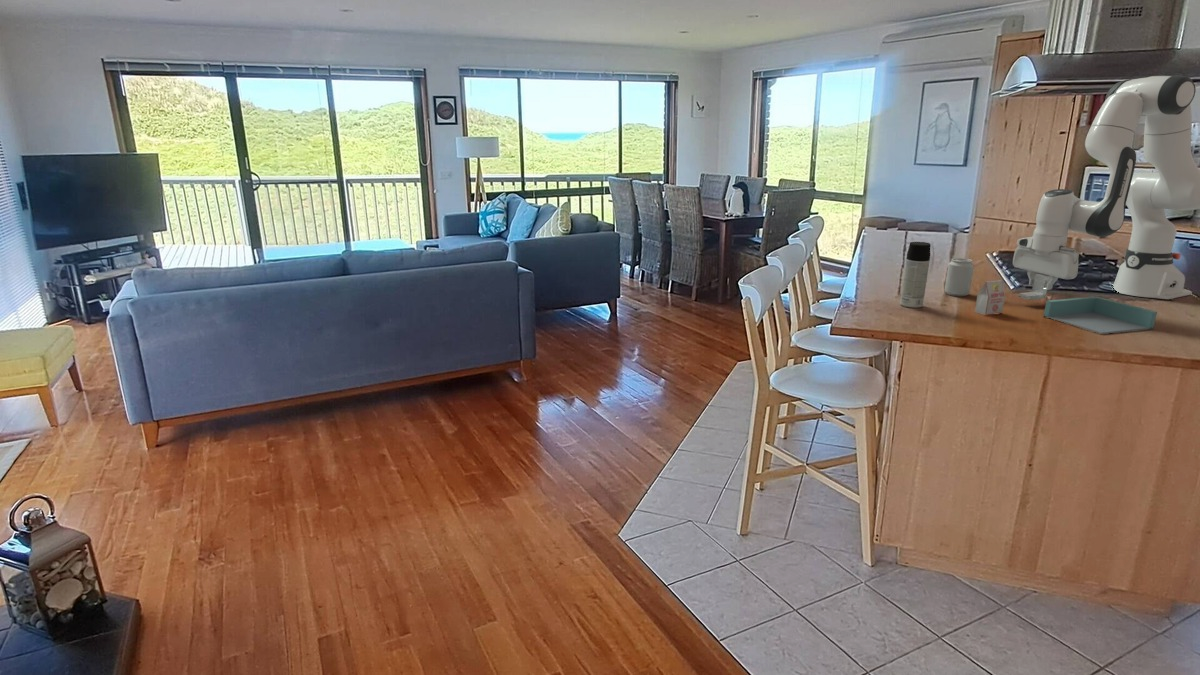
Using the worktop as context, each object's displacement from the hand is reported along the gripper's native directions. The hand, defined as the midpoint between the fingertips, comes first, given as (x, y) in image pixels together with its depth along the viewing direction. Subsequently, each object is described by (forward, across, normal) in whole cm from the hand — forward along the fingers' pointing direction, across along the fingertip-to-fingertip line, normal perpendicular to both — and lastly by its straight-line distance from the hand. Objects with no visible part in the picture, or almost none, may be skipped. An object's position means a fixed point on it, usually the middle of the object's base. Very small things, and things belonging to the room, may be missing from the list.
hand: (1040, 287), depth 204 cm
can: (+6, +18, +14) cm, 24 cm away
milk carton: (+6, -4, +22) cm, 23 cm away
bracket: (+3, 0, +2) cm, 4 cm away
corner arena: (+6, -21, +1) cm, 22 cm away
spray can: (+5, +10, +38) cm, 40 cm away
